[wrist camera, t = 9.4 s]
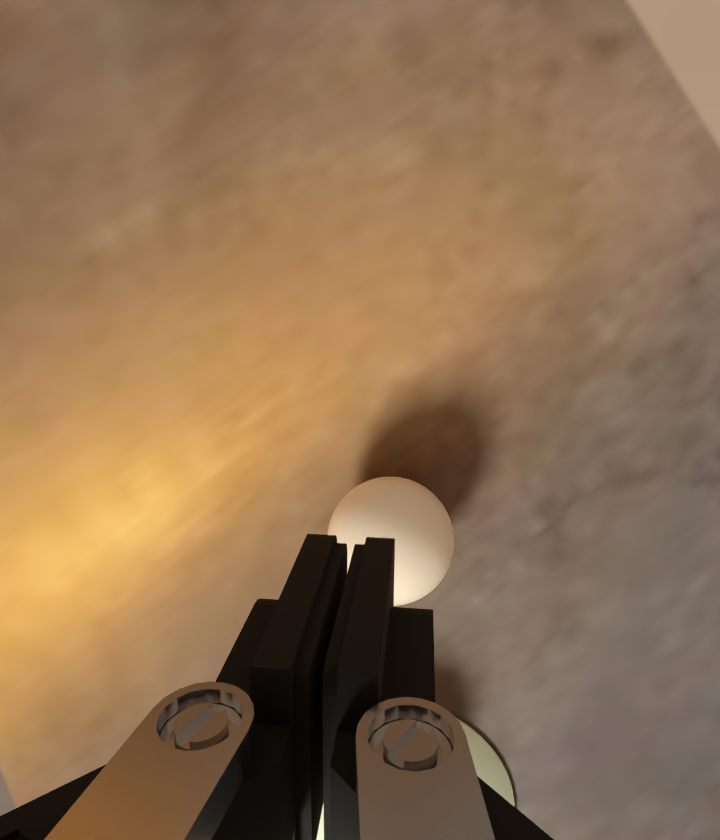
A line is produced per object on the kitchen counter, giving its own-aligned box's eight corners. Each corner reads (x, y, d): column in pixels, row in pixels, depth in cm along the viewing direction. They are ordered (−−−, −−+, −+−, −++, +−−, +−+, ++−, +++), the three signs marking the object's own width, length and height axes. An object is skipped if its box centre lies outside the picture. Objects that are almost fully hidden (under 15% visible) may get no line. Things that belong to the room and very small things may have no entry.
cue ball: (314, 614, 24) (333, 588, 29) (456, 624, 23) (448, 595, 29) (320, 473, 24) (338, 474, 30) (460, 479, 24) (451, 478, 29)
